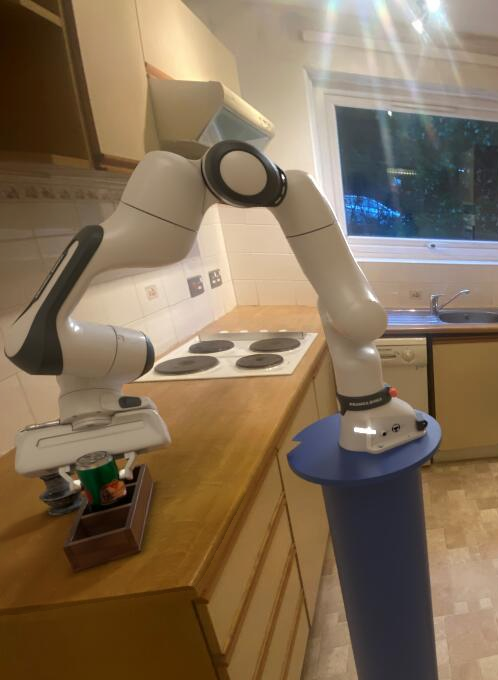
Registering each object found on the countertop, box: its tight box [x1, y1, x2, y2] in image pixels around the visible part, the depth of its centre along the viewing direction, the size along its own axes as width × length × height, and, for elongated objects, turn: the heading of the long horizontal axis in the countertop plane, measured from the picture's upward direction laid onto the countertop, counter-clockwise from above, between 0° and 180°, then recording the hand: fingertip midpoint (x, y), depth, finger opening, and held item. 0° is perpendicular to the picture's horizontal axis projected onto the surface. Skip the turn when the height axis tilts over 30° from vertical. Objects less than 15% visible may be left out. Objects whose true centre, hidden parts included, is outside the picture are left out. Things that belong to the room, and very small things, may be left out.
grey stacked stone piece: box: [38, 473, 84, 516], centre depth 81 cm, size 6×6×12 cm
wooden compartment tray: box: [62, 462, 155, 573], centre depth 78 cm, size 8×23×5 cm, turn 33°
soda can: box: [74, 451, 132, 513], centre depth 76 cm, size 5×5×12 cm
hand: (103, 485), depth 75 cm, fingers closed on soda can, 5 cm apart
